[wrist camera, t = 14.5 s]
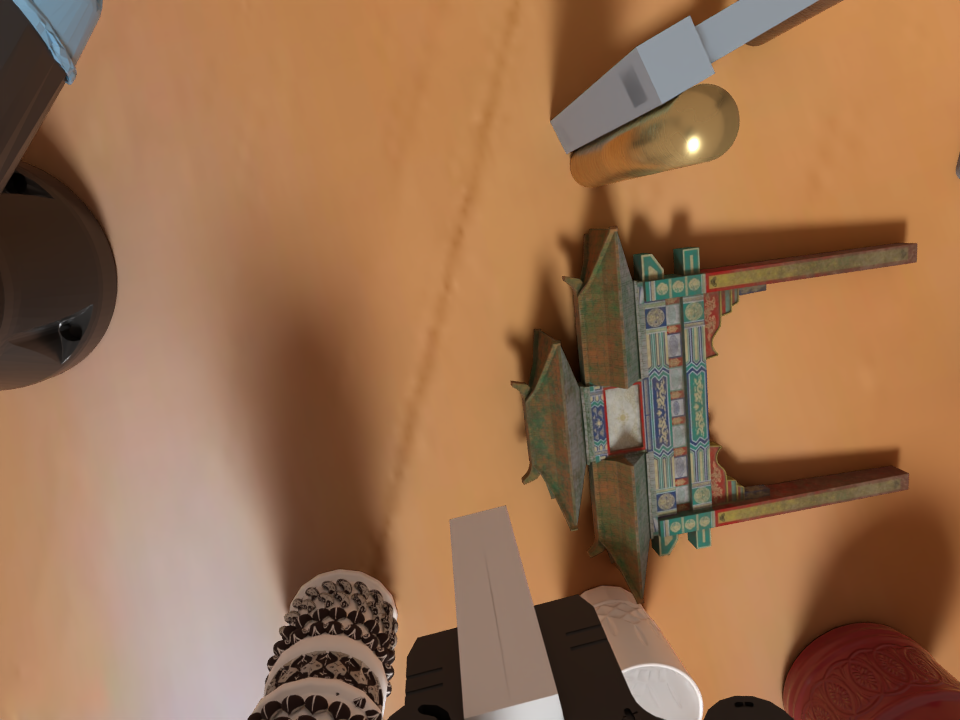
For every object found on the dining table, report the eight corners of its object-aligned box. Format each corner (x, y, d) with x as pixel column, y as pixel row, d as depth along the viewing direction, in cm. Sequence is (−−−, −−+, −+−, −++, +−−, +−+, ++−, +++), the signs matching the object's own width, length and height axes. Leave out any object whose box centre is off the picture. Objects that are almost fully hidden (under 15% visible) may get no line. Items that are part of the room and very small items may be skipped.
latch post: (574, 191, 43) (673, 169, 25) (566, 147, 42) (662, 92, 25) (616, 182, 43) (743, 153, 25) (608, 137, 42) (734, 76, 25)
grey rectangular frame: (706, 29, 41) (909, -115, 24) (721, 63, 42) (930, -53, 24) (550, 121, 42) (636, 47, 24) (566, 154, 42) (662, 104, 25)
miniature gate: (924, 545, 47) (545, 624, 44) (869, 513, 53) (528, 581, 49) (940, 184, 41) (503, 240, 38) (876, 189, 47) (488, 239, 43)
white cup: (667, 632, 51) (722, 728, 41) (584, 679, 51) (621, 785, 42) (623, 560, 49) (670, 642, 40) (538, 609, 50) (564, 702, 40)
